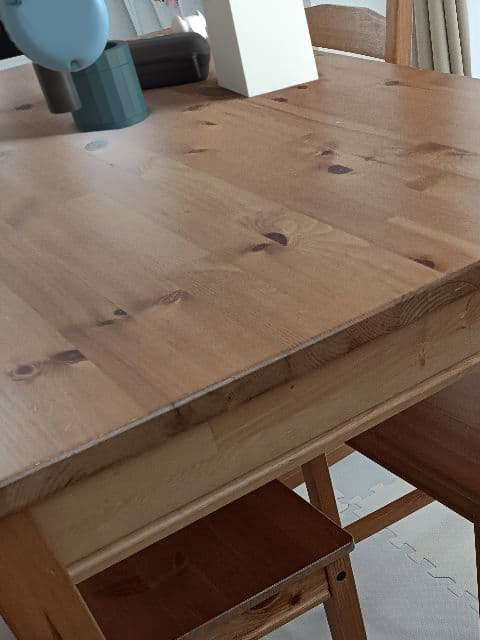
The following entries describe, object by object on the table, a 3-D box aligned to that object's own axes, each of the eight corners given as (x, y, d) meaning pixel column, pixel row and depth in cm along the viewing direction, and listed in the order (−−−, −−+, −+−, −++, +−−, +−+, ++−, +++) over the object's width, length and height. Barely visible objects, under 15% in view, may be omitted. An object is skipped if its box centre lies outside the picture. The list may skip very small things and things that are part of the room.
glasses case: (217, 62, 130) (204, 13, 124) (219, 101, 126) (206, 53, 119) (110, 76, 130) (91, 28, 123) (108, 116, 125) (88, 69, 119)
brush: (44, 115, 88) (-42, -115, 74) (57, 106, 90) (-24, -118, 77) (74, 112, 87) (-7, -120, 74) (86, 103, 90) (10, -122, 77)
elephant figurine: (193, 55, 142) (184, 17, 138) (166, 54, 146) (156, 16, 142) (221, 46, 145) (213, 8, 141) (194, 45, 149) (185, 8, 145)
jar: (65, 135, 109) (38, 61, 103) (92, 114, 116) (68, 44, 110) (134, 128, 108) (111, 53, 101) (157, 108, 115) (137, 36, 109)
